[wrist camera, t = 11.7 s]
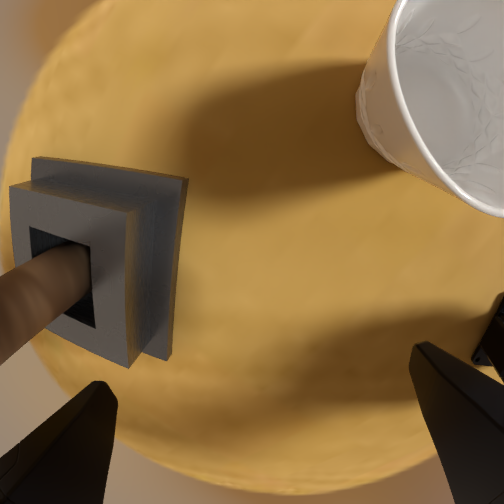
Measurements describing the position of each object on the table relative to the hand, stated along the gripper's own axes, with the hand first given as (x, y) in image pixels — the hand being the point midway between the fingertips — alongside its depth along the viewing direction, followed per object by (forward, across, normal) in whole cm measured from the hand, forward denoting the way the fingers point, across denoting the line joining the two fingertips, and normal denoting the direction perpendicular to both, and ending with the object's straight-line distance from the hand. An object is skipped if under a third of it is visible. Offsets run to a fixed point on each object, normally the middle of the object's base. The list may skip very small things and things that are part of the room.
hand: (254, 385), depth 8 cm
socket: (+14, +12, 0) cm, 19 cm away
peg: (+13, +12, 0) cm, 18 cm away
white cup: (+11, -10, -6) cm, 16 cm away
